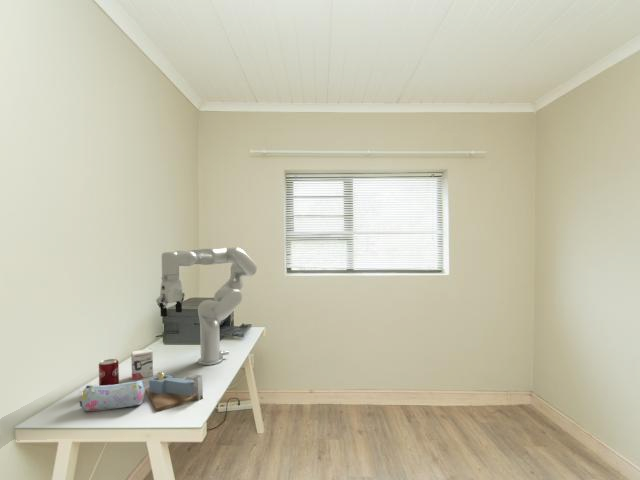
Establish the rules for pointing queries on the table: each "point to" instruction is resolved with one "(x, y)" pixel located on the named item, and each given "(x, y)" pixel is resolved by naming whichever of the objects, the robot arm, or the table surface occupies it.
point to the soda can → (109, 372)
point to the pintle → (160, 376)
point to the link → (171, 386)
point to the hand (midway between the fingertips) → (171, 314)
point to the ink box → (142, 363)
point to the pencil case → (112, 396)
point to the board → (168, 399)
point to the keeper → (197, 385)
